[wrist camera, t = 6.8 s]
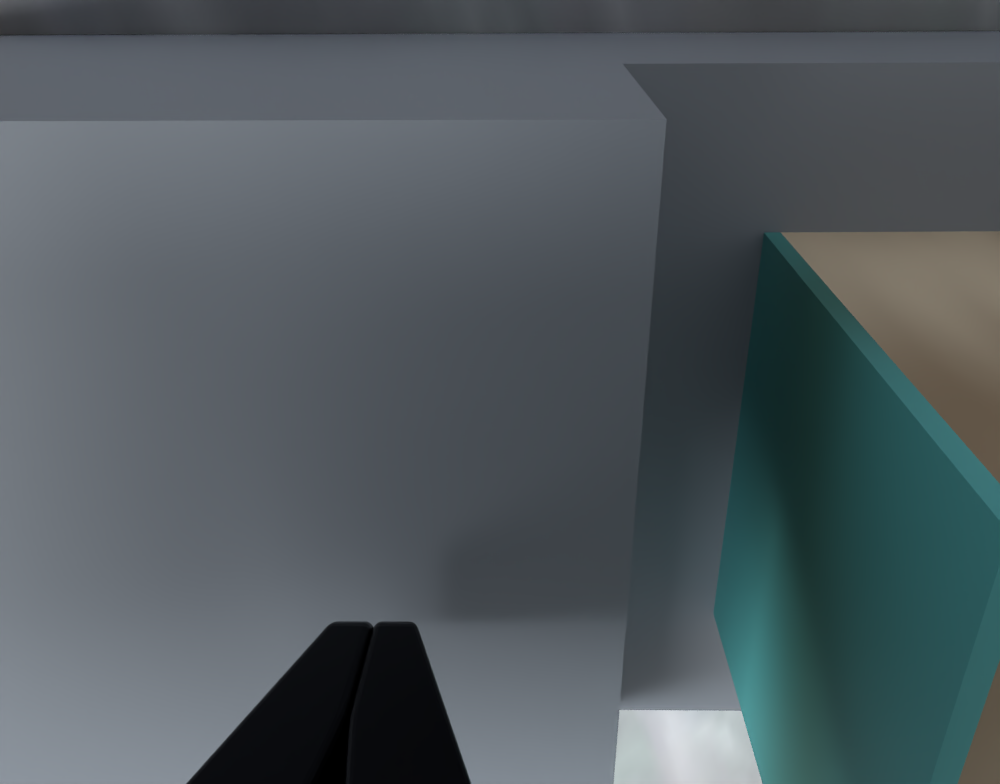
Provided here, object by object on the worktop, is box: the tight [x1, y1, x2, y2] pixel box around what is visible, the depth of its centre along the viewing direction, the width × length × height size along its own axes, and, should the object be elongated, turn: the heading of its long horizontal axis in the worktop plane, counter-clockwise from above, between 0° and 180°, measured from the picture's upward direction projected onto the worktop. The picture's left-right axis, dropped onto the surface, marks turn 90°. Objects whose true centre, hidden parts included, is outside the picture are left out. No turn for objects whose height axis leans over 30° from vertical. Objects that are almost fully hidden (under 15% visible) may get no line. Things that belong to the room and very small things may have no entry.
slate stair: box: [0, 31, 1000, 784], centre depth 12 cm, size 18×10×6 cm, turn 90°
